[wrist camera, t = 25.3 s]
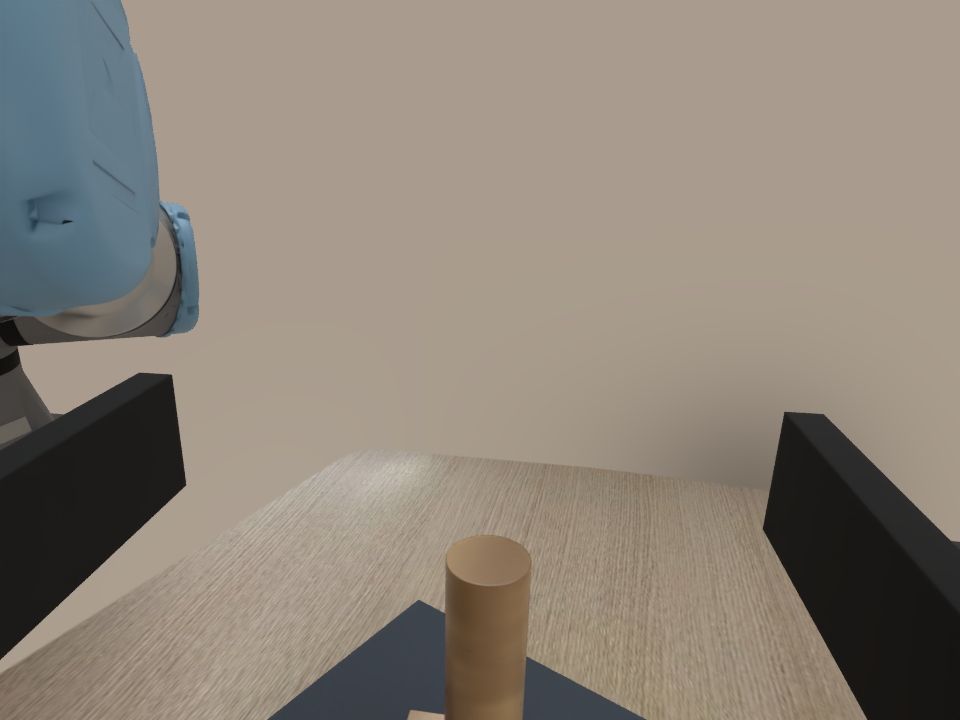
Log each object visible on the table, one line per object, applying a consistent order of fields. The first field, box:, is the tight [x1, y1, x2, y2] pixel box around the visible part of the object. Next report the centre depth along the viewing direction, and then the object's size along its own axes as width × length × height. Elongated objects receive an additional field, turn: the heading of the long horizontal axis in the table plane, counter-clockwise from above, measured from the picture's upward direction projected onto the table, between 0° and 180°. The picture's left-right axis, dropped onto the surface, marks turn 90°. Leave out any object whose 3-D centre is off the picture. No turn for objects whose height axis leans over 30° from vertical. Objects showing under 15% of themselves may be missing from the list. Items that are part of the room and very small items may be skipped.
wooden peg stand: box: [407, 535, 531, 720], centre depth 25 cm, size 7×5×13 cm
